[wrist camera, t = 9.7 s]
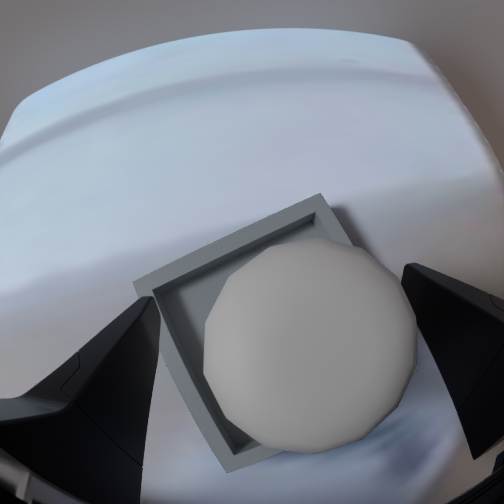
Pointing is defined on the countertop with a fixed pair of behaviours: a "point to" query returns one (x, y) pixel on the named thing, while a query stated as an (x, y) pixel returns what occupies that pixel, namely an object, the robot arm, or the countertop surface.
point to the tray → (201, 303)
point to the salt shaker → (310, 345)
